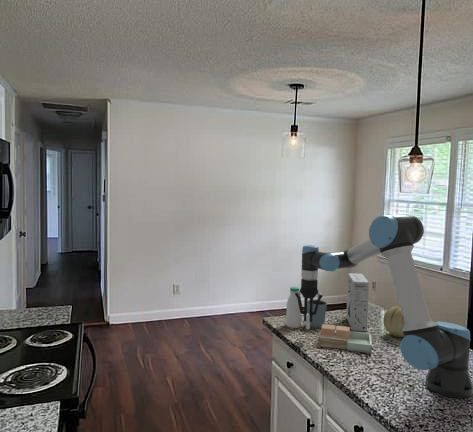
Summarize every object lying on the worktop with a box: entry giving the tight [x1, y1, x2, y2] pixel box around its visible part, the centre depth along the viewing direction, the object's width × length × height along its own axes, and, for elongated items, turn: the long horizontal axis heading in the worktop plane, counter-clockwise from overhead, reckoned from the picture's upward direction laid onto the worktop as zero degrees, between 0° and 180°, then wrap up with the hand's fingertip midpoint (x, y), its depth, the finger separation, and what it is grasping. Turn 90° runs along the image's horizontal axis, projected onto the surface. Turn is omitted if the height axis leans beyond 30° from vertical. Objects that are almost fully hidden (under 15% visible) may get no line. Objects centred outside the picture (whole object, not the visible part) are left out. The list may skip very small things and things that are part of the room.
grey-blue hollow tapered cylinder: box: [307, 299, 328, 328], centre depth 217 cm, size 10×10×12 cm
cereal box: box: [345, 272, 370, 332], centre depth 219 cm, size 22×8×25 cm, turn 172°
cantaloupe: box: [382, 305, 405, 338], centre depth 202 cm, size 15×15×15 cm
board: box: [318, 328, 348, 350], centre depth 192 cm, size 14×12×4 cm
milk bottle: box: [285, 286, 303, 329], centre depth 214 cm, size 8×8×20 cm
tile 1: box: [320, 323, 337, 336], centre depth 193 cm, size 6×6×3 cm
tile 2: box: [335, 325, 351, 339], centre depth 191 cm, size 6×6×3 cm
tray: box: [346, 330, 373, 354], centre depth 189 cm, size 16×10×4 cm, turn 164°
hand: (307, 328), depth 195 cm, fingers closed
